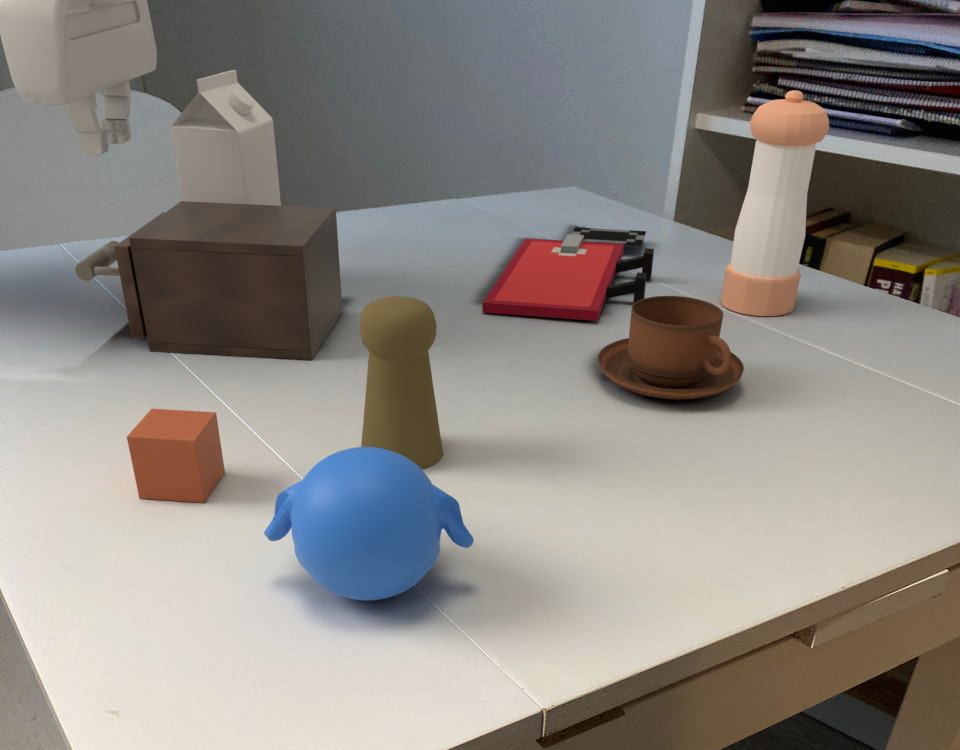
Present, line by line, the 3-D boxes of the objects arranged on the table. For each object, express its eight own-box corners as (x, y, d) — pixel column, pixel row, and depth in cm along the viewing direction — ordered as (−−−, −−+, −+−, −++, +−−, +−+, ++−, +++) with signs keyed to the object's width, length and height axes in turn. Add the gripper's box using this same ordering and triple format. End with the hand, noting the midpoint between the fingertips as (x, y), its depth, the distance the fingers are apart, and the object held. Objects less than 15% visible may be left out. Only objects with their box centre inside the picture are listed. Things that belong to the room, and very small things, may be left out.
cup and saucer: (761, 377, 86) (775, 305, 83) (703, 425, 78) (716, 348, 75) (636, 346, 92) (644, 278, 88) (570, 388, 84) (575, 314, 80)
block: (139, 498, 67) (126, 436, 65) (162, 468, 71) (151, 408, 68) (204, 503, 67) (194, 440, 64) (225, 472, 71) (216, 411, 68)
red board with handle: (661, 240, 119) (536, 233, 122) (664, 215, 117) (537, 208, 120) (636, 328, 96) (482, 317, 98) (639, 298, 94) (482, 288, 97)
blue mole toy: (477, 524, 65) (480, 402, 60) (469, 632, 56) (471, 497, 51) (294, 518, 66) (281, 395, 61) (254, 624, 56) (234, 489, 51)
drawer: (76, 334, 89) (56, 243, 85) (126, 294, 98) (110, 209, 94) (281, 346, 88) (271, 253, 83) (312, 303, 97) (305, 218, 92)
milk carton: (194, 288, 103) (162, 77, 92) (228, 268, 108) (202, 67, 97) (257, 296, 101) (232, 82, 90) (288, 275, 107) (269, 72, 95)
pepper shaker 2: (760, 321, 98) (801, 100, 86) (705, 301, 102) (737, 88, 91) (809, 308, 101) (854, 93, 90) (753, 289, 106) (790, 82, 95)
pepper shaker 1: (422, 477, 70) (420, 321, 64) (345, 462, 72) (335, 308, 66) (455, 443, 75) (456, 294, 68) (382, 429, 77) (376, 282, 70)
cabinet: (149, 351, 89) (128, 238, 83) (196, 305, 99) (180, 201, 93) (312, 360, 88) (302, 246, 82) (342, 312, 98) (335, 208, 92)
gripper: (87, -57, 85) (119, 124, 94) (-36, -46, 69) (16, 172, 77) (159, -55, 85) (185, 127, 93) (53, -43, 69) (95, 176, 77)
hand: (107, 148), depth 85 cm, fingers open, 3 cm apart
